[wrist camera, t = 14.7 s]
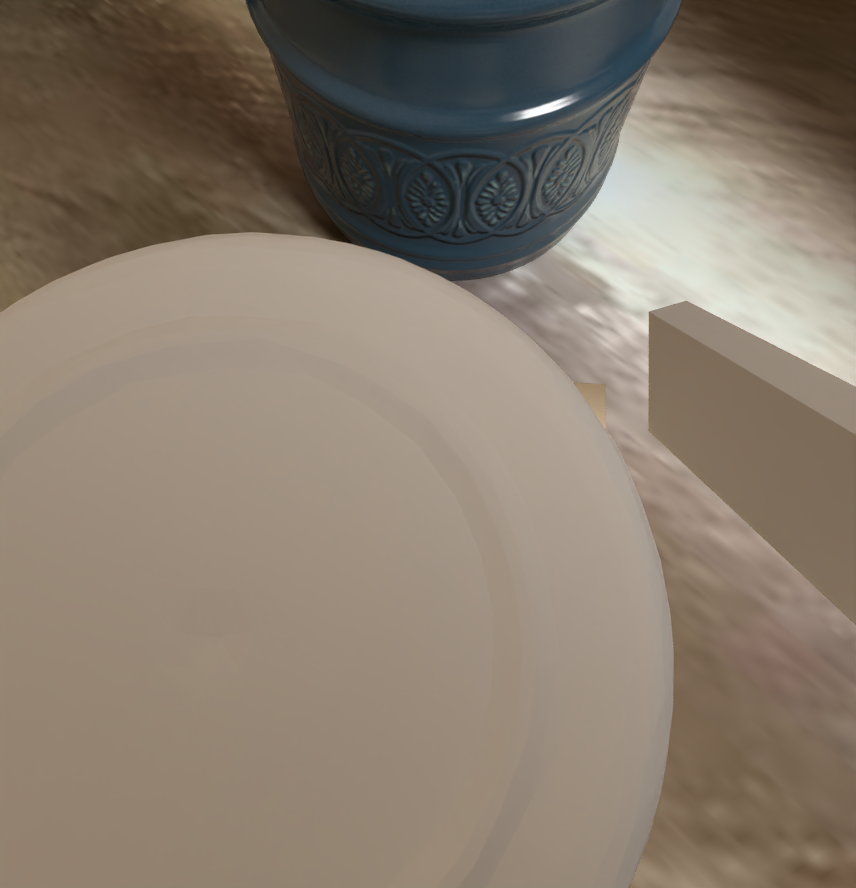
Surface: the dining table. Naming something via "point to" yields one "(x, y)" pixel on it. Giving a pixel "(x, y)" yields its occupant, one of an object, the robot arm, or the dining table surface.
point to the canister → (459, 117)
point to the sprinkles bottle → (314, 586)
